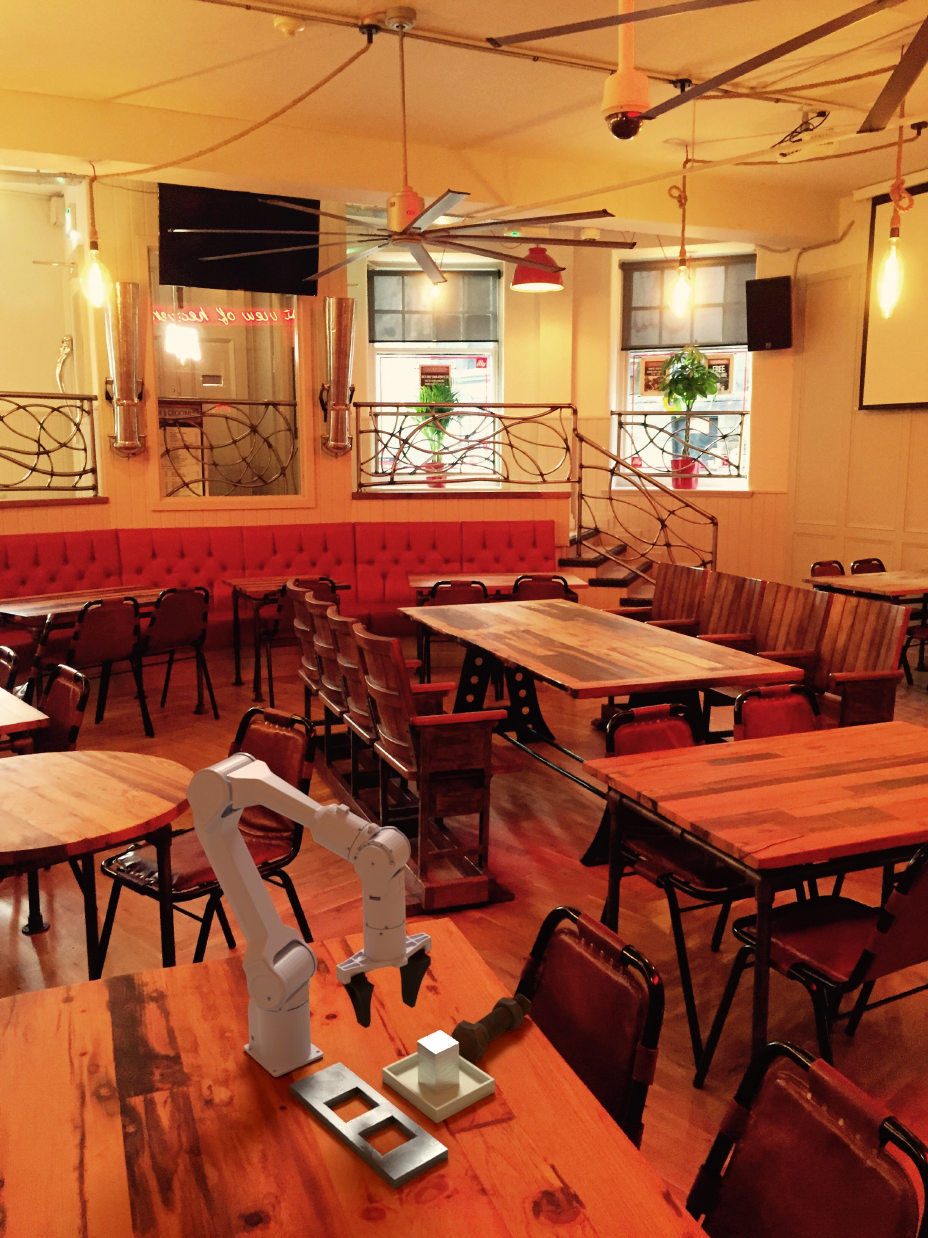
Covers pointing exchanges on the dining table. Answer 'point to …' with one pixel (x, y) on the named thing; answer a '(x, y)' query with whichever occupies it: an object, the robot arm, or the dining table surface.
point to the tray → (447, 1103)
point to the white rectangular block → (438, 1062)
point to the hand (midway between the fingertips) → (386, 1014)
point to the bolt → (490, 1026)
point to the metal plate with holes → (369, 1124)
